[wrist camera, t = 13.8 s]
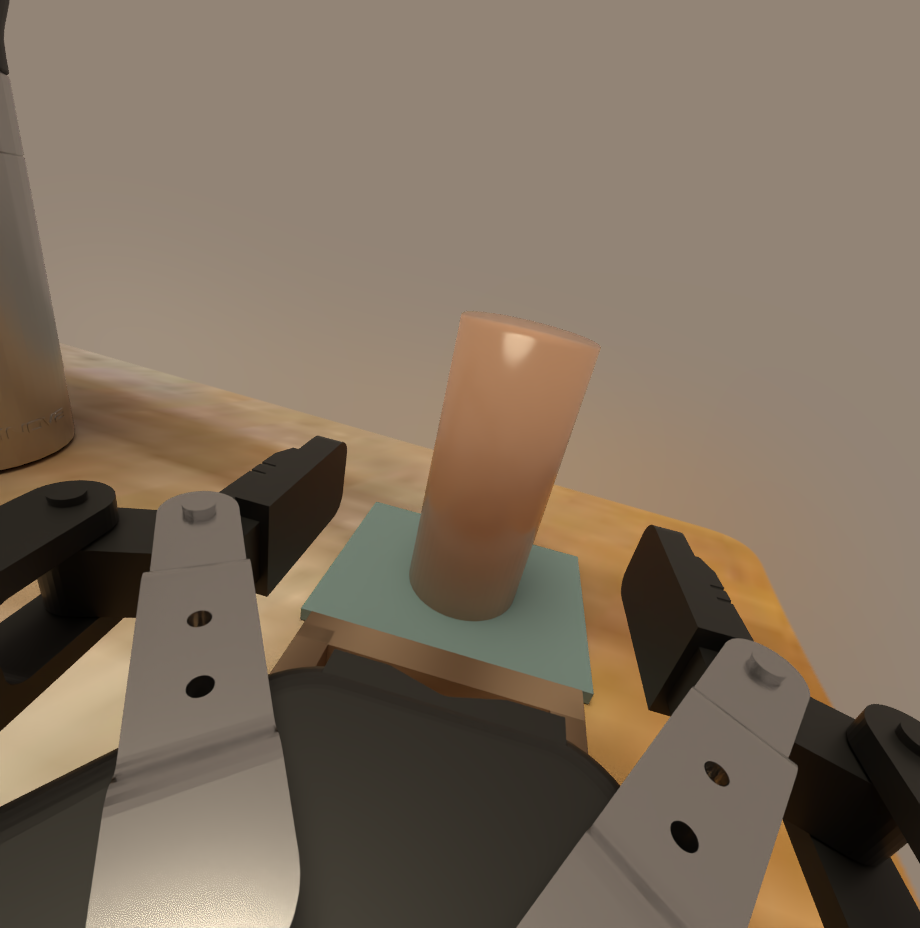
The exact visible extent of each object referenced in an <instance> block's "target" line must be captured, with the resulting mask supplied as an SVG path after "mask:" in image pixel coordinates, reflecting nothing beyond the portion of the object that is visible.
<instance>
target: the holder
mask: <svg viewBox="0 0 920 928" xmlns="http://www.w3.org/2000/svg"><path fill="white" fill-rule="evenodd" d="M334 649H338V650H341V651H344V652H348V653H351V654H354V655H358V656H361V657H364V658H368V659H371V660H374V661H378V662H381V663H385V664H388V665H391V666H392V667H394V668H396V669H398V670H399V671H401V672H403V673H404V674H406V675H408V676H410V677H411V678H413V679H415V680H417V681H418V682H420V683H422V684H424V685H425V686H427V687H429V688H431V689H432V690H434V691H436V692H438V693H439V694H442V695H444V696H448V697H462V698H480V699H498V700H509V701H512V702H515V703H519V704H522V705H526V706H529V707H532V708H536V709H539V710H542V711H546V712H549V713H552V714H556V715H559V716H562V717H565V722H566V740H568V741H570V742H571V743H573V744H575V745H576V746H577V747H579V748H580V749H582V750H583V751H584V752H586V753H587V754H588V747H587V736H586V725H585V714H584V703H583V692H582V690H579V689H575V688H572V687H569V686H565V685H562V684H558V683H555V682H552V681H548V680H545V679H541V678H538V677H535V676H531V675H528V674H524V673H521V672H518V671H514V670H511V669H507V668H504V667H501V666H497V665H494V664H490V663H487V662H484V661H480V660H477V659H473V658H470V657H467V656H463V655H460V654H456V653H453V652H450V651H446V650H443V649H439V648H436V647H433V646H429V645H426V644H422V643H419V642H416V641H412V640H409V639H405V638H402V637H399V636H395V635H392V634H388V633H385V632H382V631H378V630H375V629H371V628H368V627H365V626H361V625H358V624H354V623H351V622H348V621H344V620H341V619H337V618H334V617H331V616H327V615H324V614H320V613H317V612H314V611H312V612H311V613H310V614H309V616H308V617H307V619H306V620H305V622H304V623H303V625H302V626H301V628H300V629H299V631H298V632H297V634H296V635H295V637H294V638H293V640H292V641H291V643H290V644H289V646H288V647H287V649H286V650H285V652H284V653H283V655H282V656H281V658H280V659H279V661H278V662H277V664H276V665H275V667H274V668H273V670H272V671H271V673H270V674H272V673H275V672H279V671H283V670H287V669H293V668H299V667H313V666H322V667H325V665H326V664H327V662H328V660H329V658H330V656H331V654H332V653H333V651H334Z"/></svg>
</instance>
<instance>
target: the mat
mask: <svg viewBox="0 0 920 928" xmlns="http://www.w3.org/2000/svg"><path fill="white" fill-rule="evenodd" d="M420 516H421V514H419V513H416V512H412V511H408V510H405V509H401V508H397V507H394V506H390V505H386V504H383V503H379V502H376V503H375V504H374V506H373V507H372V508H371V510H370V511H369V513H368V514H367V516H366V517H365V518H364V520H363V521H362V523H361V524H360V525H359V527H358V528H357V530H356V531H355V533H354V534H353V535H352V537H351V538H350V540H349V541H348V542H347V544H346V545H345V547H344V548H343V550H342V551H341V552H340V554H339V555H338V557H337V558H336V559H335V561H334V562H333V564H332V565H331V566H330V568H329V569H328V571H327V572H326V574H325V575H324V576H323V578H322V579H321V581H320V582H319V583H318V585H317V586H316V588H315V589H314V591H313V592H312V593H311V595H310V596H309V598H308V599H307V600H306V602H305V603H304V605H303V606H302V608H301V617H300V619H302V620H306V619H307V617H308V616H309V614H310V613H311V612H312V611H314V612H317V613H320V614H324V615H327V616H331V617H334V618H337V619H341V620H344V621H348V622H351V623H354V624H358V625H361V626H365V627H368V628H371V629H375V630H378V631H382V632H385V633H388V634H392V635H395V636H399V637H402V638H405V639H409V640H412V641H416V642H419V643H422V644H426V645H429V646H433V647H436V648H439V649H443V650H446V651H450V652H453V653H456V654H460V655H463V656H467V657H470V658H473V659H477V660H480V661H484V662H487V663H490V664H494V665H497V666H501V667H504V668H507V669H511V670H514V671H518V672H521V673H524V674H528V675H531V676H535V677H538V678H541V679H545V680H548V681H552V682H555V683H558V684H562V685H565V686H569V687H572V688H575V689H579V690H582V692H583V703H586V704H589V702H590V700H591V698H592V696H593V694H594V693H593V685H592V676H591V668H590V659H589V651H588V642H587V634H586V625H585V617H584V608H583V600H582V591H581V583H580V574H579V565H578V557H576V556H573V555H569V554H565V553H562V552H558V551H554V550H551V549H547V548H543V547H540V546H536V545H533V546H532V549H531V551H530V554H529V557H528V560H527V563H526V566H525V569H524V572H523V575H522V577H521V580H520V583H519V586H518V589H517V592H516V595H515V598H514V600H513V603H512V605H511V606H510V608H509V609H508V610H507V611H506V612H504V613H503V614H502V615H500V616H498V617H496V618H493V619H489V620H484V621H464V620H458V619H454V618H451V617H448V616H445V615H443V614H441V613H439V612H437V611H435V610H433V609H432V608H430V607H429V606H427V605H426V604H425V603H424V602H423V601H422V600H421V599H420V598H419V597H418V596H417V595H416V593H415V592H414V590H413V588H412V586H411V583H410V579H409V570H410V565H411V560H412V555H413V550H414V545H415V540H416V536H417V531H418V526H419V521H420Z"/></svg>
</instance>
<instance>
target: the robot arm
mask: <svg viewBox="0 0 920 928" xmlns="http://www.w3.org/2000/svg"><path fill="white" fill-rule="evenodd" d="M8 6H9V0H0V470H3V469H8V468H12V467H16V466H20V465H23V464H26V463H29V462H32V461H35V460H38V459H41V458H43V457H46V456H48V455H50V454H52V453H54V452H56V451H58V450H59V449H61V448H62V447H64V446H65V445H67V444H68V443H69V442H70V441H71V439H72V438H73V437H74V432H75V428H74V422H73V417H72V412H71V406H70V401H69V395H68V390H67V384H66V379H65V374H64V366H63V361H62V356H61V350H60V345H59V339H58V334H57V329H56V323H55V318H54V313H53V308H52V302H51V296H50V291H49V286H48V281H47V275H46V270H45V264H44V259H43V253H42V248H41V243H40V238H39V232H38V226H37V221H36V216H35V210H34V205H33V200H32V195H31V189H30V184H29V179H28V173H27V168H26V162H25V158H24V157H23V155H24V153H23V148H22V142H21V137H20V131H19V126H18V121H17V115H16V110H15V105H14V99H13V94H12V88H11V83H10V79H9V77H8V76H7V75H8V74H9V70H8V65H7V59H6V53H5V46H4V28H5V22H6V17H7V12H8ZM346 456H347V446H346V444H345V443H344V442H340V441H336V440H332V439H329V438H325V437H321V436H316V437H314V438H313V439H311V440H310V441H309V442H307V443H306V444H305V445H303V446H302V447H301V448H299V449H296V448H291V449H287V450H284V451H281V452H277V453H275V454H273V455H272V456H270V457H269V458H267V459H266V460H265V461H263V462H262V464H259V465H257V466H256V467H255V468H253V469H252V471H249V472H247V473H246V474H245V475H243V476H242V477H240V478H239V479H237V480H236V481H235V482H233V483H232V484H230V485H229V486H227V487H226V488H224V489H223V490H222V491H220V492H211V491H197V492H190V493H185V494H181V495H178V496H175V497H173V498H170V499H168V500H167V501H165V502H164V503H163V504H162V505H161V506H160V507H159V508H158V510H147V509H132V508H117V501H116V495H115V491H114V490H113V488H111V487H110V486H108V485H106V484H103V483H100V482H95V481H83V480H77V481H65V482H59V483H53V484H49V485H45V486H42V487H39V488H37V489H34V490H32V491H30V492H28V493H26V494H24V495H22V496H20V497H17V498H15V499H13V500H11V501H9V502H7V503H5V504H3V505H1V506H0V605H1V604H2V603H3V602H4V601H5V600H7V599H8V598H9V597H11V596H12V595H14V594H15V593H17V592H18V591H20V590H21V589H23V588H24V587H26V586H27V585H29V584H30V583H32V582H33V581H35V580H36V579H37V580H38V584H39V588H40V592H41V594H40V595H39V596H37V597H36V598H35V599H33V600H32V601H30V602H29V603H28V604H26V605H25V606H23V607H22V608H21V609H19V610H18V611H16V612H15V613H13V614H12V615H11V616H9V617H8V618H6V619H5V620H4V621H2V622H1V623H0V731H1V730H2V729H3V728H4V727H6V726H7V725H8V724H9V723H10V722H11V721H12V720H13V719H14V718H15V717H16V716H17V715H19V714H20V713H21V712H22V711H23V710H24V709H25V708H26V707H27V706H28V705H29V704H31V703H32V702H33V701H34V700H35V699H36V698H37V697H38V696H39V695H40V694H41V693H42V692H44V691H45V690H46V689H47V688H48V687H49V686H50V685H51V684H52V683H53V682H54V681H56V680H57V679H58V678H59V677H60V676H61V675H62V674H63V673H64V672H65V671H66V670H68V669H69V668H70V667H71V666H72V665H73V664H74V663H75V662H76V661H77V660H78V659H79V658H81V657H82V656H83V655H84V654H85V653H86V652H87V651H88V650H89V649H90V648H91V647H93V646H94V645H95V644H96V643H97V642H98V641H99V640H100V639H101V638H102V637H103V636H104V635H106V634H107V633H108V632H109V631H110V630H111V629H112V628H113V627H114V626H115V625H116V624H118V623H119V622H120V621H121V620H122V619H123V618H136V622H135V630H134V637H133V644H132V652H131V659H130V667H129V674H128V681H127V689H126V696H125V703H124V711H123V718H122V726H121V733H120V740H119V748H117V749H115V750H113V751H111V752H109V753H107V754H105V755H103V756H101V757H99V758H97V759H95V760H93V761H91V762H89V763H87V764H85V765H83V766H81V767H79V768H77V769H75V770H73V771H71V772H69V773H67V774H65V775H63V776H61V777H59V778H57V779H55V780H53V781H51V782H49V783H47V784H45V785H43V786H41V787H39V788H37V789H35V790H33V791H31V792H29V793H27V794H25V795H23V796H21V797H19V798H17V799H15V800H13V801H11V802H9V803H7V804H5V805H3V806H1V807H0V928H748V924H749V921H750V918H751V915H752V912H753V909H754V906H755V903H756V900H757V896H758V893H759V890H760V887H761V884H762V881H763V878H764V875H765V872H766V868H767V865H768V862H769V859H770V856H771V853H772V850H773V847H774V844H775V840H776V837H777V834H778V831H779V828H780V825H781V822H782V819H783V822H784V825H785V827H786V830H787V832H788V835H789V838H790V840H791V843H792V845H793V848H794V851H795V853H796V856H797V858H798V861H799V864H800V866H801V869H802V871H803V874H804V877H805V879H806V882H807V884H808V887H809V890H810V892H811V895H812V897H813V900H814V902H815V905H816V908H817V910H818V913H819V915H820V918H821V921H822V923H823V926H824V928H920V911H919V909H918V907H917V905H916V903H915V902H914V900H913V898H912V896H911V894H910V892H909V890H908V889H907V887H906V885H905V883H904V881H903V879H902V878H901V876H900V874H899V872H898V870H897V868H896V867H895V865H894V863H893V861H892V859H891V856H892V855H893V854H894V853H896V852H897V851H898V850H899V849H900V848H902V847H903V846H904V845H905V844H906V843H908V844H909V846H910V848H911V849H912V851H913V852H914V854H915V856H916V858H917V859H918V861H919V863H920V722H919V721H918V720H916V719H914V718H913V717H911V716H909V715H907V714H905V713H903V712H901V711H899V710H896V709H894V708H891V707H888V706H885V705H879V704H871V705H869V706H867V707H866V708H865V709H864V711H862V713H861V714H860V715H859V716H858V717H857V718H856V719H853V718H851V717H849V716H847V715H845V714H843V713H841V712H839V711H837V710H835V709H833V708H831V707H829V706H827V705H825V704H823V703H821V702H819V701H817V700H815V699H813V698H812V697H810V691H809V688H808V686H807V684H806V682H805V680H804V679H803V677H802V676H801V675H800V673H799V672H798V671H797V670H796V669H795V668H794V667H793V666H792V665H791V664H790V663H789V662H788V661H786V660H785V659H784V658H783V657H781V656H780V655H778V654H777V653H775V652H774V651H772V650H770V649H769V648H767V647H765V646H763V645H761V644H759V643H756V642H754V641H753V639H752V637H751V635H750V634H749V632H748V630H747V628H746V626H745V625H744V623H743V621H742V619H741V618H740V616H739V614H738V612H737V611H736V609H735V607H734V605H733V604H731V600H730V598H729V596H728V595H727V593H726V591H723V590H724V587H723V586H722V584H721V582H720V580H719V579H718V577H717V575H716V573H715V572H714V571H713V570H712V569H711V568H710V567H709V566H708V565H707V564H706V563H705V562H704V561H702V560H701V559H700V558H699V557H696V556H694V554H693V552H692V550H691V548H690V546H689V544H688V542H687V540H686V538H685V537H684V535H683V534H682V533H680V532H677V531H673V530H669V529H665V528H662V527H658V526H654V525H650V526H648V527H647V528H646V530H645V531H644V533H643V535H642V537H641V539H640V541H639V544H638V546H637V548H636V550H635V552H634V554H633V556H632V559H631V561H630V563H629V565H628V567H627V569H626V572H625V574H624V577H623V581H622V587H621V596H622V601H623V605H624V609H625V613H626V618H627V622H628V626H629V630H630V634H631V639H632V643H633V647H634V651H635V655H636V659H637V664H638V668H639V672H640V676H641V680H642V684H643V689H644V693H645V697H646V701H647V705H648V709H649V710H650V711H654V712H657V713H661V714H664V715H667V716H671V717H670V718H669V720H668V721H667V723H666V724H665V725H664V727H663V728H662V729H661V731H660V732H659V734H658V735H657V736H656V738H655V739H654V741H653V742H652V743H651V745H650V746H649V747H648V749H647V750H646V752H645V753H644V754H643V756H642V757H641V759H640V760H639V761H638V763H637V764H636V765H635V767H634V768H633V770H632V771H631V772H630V774H629V775H628V776H627V778H626V779H625V781H624V782H623V783H622V785H621V786H620V785H619V784H618V783H617V782H616V780H615V779H614V778H613V777H612V776H611V775H610V774H609V773H608V772H607V771H606V770H605V769H604V768H603V767H602V766H601V765H600V764H599V763H598V762H597V761H595V760H594V759H593V758H592V757H591V756H590V755H588V754H587V753H586V752H584V751H583V750H582V749H580V748H579V747H577V746H576V745H575V744H573V743H571V742H570V741H568V740H566V722H565V717H562V716H559V715H556V714H552V713H549V712H546V711H542V710H539V709H536V708H532V707H529V706H526V705H522V704H519V703H515V702H512V701H509V700H498V699H480V698H462V697H448V696H444V695H442V694H439V693H438V692H436V691H434V690H432V689H431V688H429V687H427V686H425V685H424V684H422V683H420V682H418V681H417V680H415V679H413V678H411V677H410V676H408V675H406V674H404V673H403V672H401V671H399V670H398V669H396V668H394V667H392V666H391V665H388V664H385V663H381V662H378V661H374V660H371V659H368V658H364V657H361V656H358V655H354V654H351V653H348V652H344V651H341V650H338V649H334V651H333V653H332V654H331V656H330V658H329V660H328V662H327V664H326V665H325V667H322V666H313V667H299V668H293V669H287V670H283V671H279V672H275V673H272V674H269V675H268V673H267V667H266V660H265V653H264V647H263V640H262V633H261V627H260V620H259V613H258V607H257V600H256V594H259V595H263V596H266V597H267V596H268V595H269V594H270V593H271V592H272V590H273V589H274V588H275V587H276V586H277V584H278V583H279V582H280V581H281V580H282V578H283V577H284V576H285V575H286V574H287V572H288V571H289V570H290V569H291V568H292V566H293V565H294V564H295V563H296V562H297V560H298V559H299V558H300V557H301V556H302V554H303V553H304V552H305V551H306V550H307V548H308V547H309V546H310V545H311V544H312V542H313V541H314V540H315V539H316V538H317V536H318V535H319V534H320V533H321V532H322V530H323V529H324V528H325V527H326V526H327V524H328V523H329V522H330V521H331V520H332V518H333V517H334V516H335V514H336V513H337V511H338V508H339V506H340V503H341V499H342V494H343V484H344V475H345V466H346Z"/></svg>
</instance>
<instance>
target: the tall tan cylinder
mask: <svg viewBox="0 0 920 928" xmlns="http://www.w3.org/2000/svg"><path fill="white" fill-rule="evenodd" d="M600 349H601V347H600V345H599V344H597V343H595V342H594V341H592V340H590V339H587V338H585V337H583V336H580V335H577V334H574V333H572V332H569V331H566V330H563V329H559V328H556V327H552V326H549V325H545V324H542V323H537V322H534V321H530V320H525V319H521V318H516V317H511V316H506V315H501V314H495V313H487V312H477V311H467V312H463V313H462V314H461V319H460V324H459V329H458V333H457V339H456V343H455V349H454V353H453V358H452V363H451V368H450V373H449V378H448V383H447V388H446V393H445V397H444V402H443V408H442V412H441V418H440V422H439V427H438V432H437V437H436V442H435V447H434V452H433V457H432V462H431V466H430V471H429V476H428V481H427V486H426V491H425V496H424V501H423V506H422V511H421V516H420V521H419V526H418V531H417V536H416V540H415V545H414V550H413V555H412V560H411V565H410V570H409V579H410V583H411V586H412V588H413V590H414V592H415V593H416V595H417V596H418V597H419V598H420V599H421V600H422V601H423V602H424V603H425V604H426V605H427V606H429V607H430V608H432V609H433V610H435V611H437V612H439V613H441V614H443V615H445V616H448V617H451V618H454V619H458V620H464V621H484V620H489V619H493V618H496V617H498V616H500V615H502V614H503V613H504V612H506V611H507V610H508V609H509V608H510V606H511V605H512V603H513V600H514V598H515V595H516V592H517V589H518V586H519V583H520V580H521V577H522V575H523V572H524V569H525V566H526V563H527V560H528V557H529V554H530V551H531V549H532V546H533V543H534V540H535V537H536V534H537V531H538V528H539V525H540V523H541V520H542V517H543V514H544V511H545V508H546V505H547V502H548V499H549V497H550V494H551V491H552V488H553V485H554V482H555V479H556V476H557V473H558V471H559V468H560V465H561V462H562V459H563V456H564V453H565V450H566V447H567V444H568V442H569V439H570V436H571V433H572V430H573V427H574V424H575V421H576V418H577V415H578V413H579V410H580V407H581V404H582V401H583V398H584V395H585V392H586V390H587V387H588V384H589V381H590V378H591V375H592V372H593V369H594V367H595V364H596V361H597V358H598V355H599V352H600Z"/></svg>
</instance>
